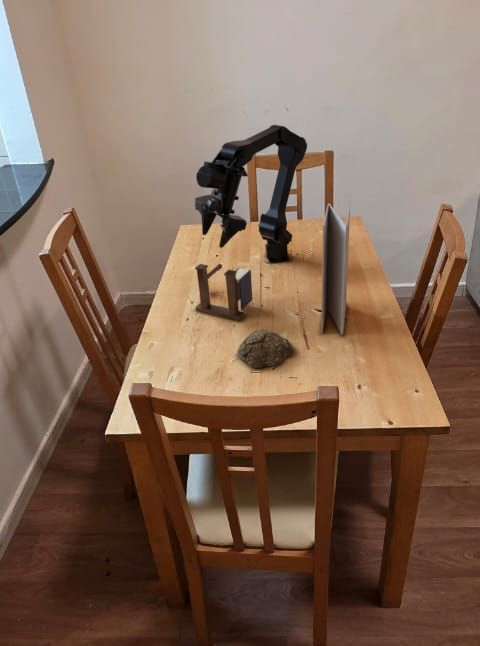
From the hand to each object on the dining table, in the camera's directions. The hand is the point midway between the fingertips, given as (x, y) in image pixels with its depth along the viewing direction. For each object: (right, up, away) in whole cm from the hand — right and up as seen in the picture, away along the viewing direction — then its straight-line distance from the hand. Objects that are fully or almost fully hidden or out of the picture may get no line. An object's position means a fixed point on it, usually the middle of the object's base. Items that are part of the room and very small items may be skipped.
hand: (212, 241), depth 161 cm
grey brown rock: (+14, -31, -24) cm, 41 cm away
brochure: (+33, -23, -13) cm, 42 cm away
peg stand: (+4, -19, -4) cm, 20 cm away
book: (+9, -18, -6) cm, 21 cm away
